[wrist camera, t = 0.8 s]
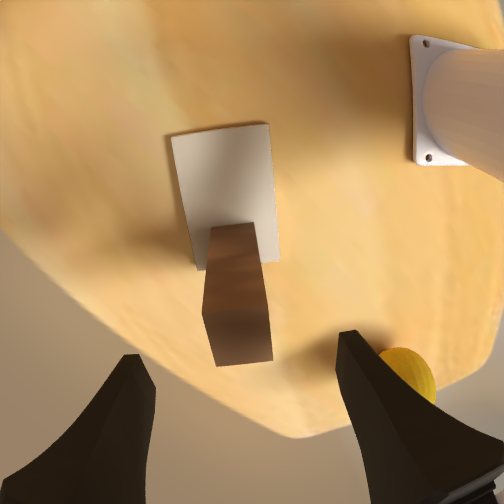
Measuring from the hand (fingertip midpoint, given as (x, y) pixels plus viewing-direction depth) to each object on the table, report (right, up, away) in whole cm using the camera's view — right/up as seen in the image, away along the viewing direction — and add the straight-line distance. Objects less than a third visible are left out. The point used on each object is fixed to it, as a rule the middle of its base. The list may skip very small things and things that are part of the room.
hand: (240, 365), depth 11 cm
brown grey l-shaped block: (-1, +7, +7) cm, 10 cm away
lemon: (+12, -4, +14) cm, 19 cm away
